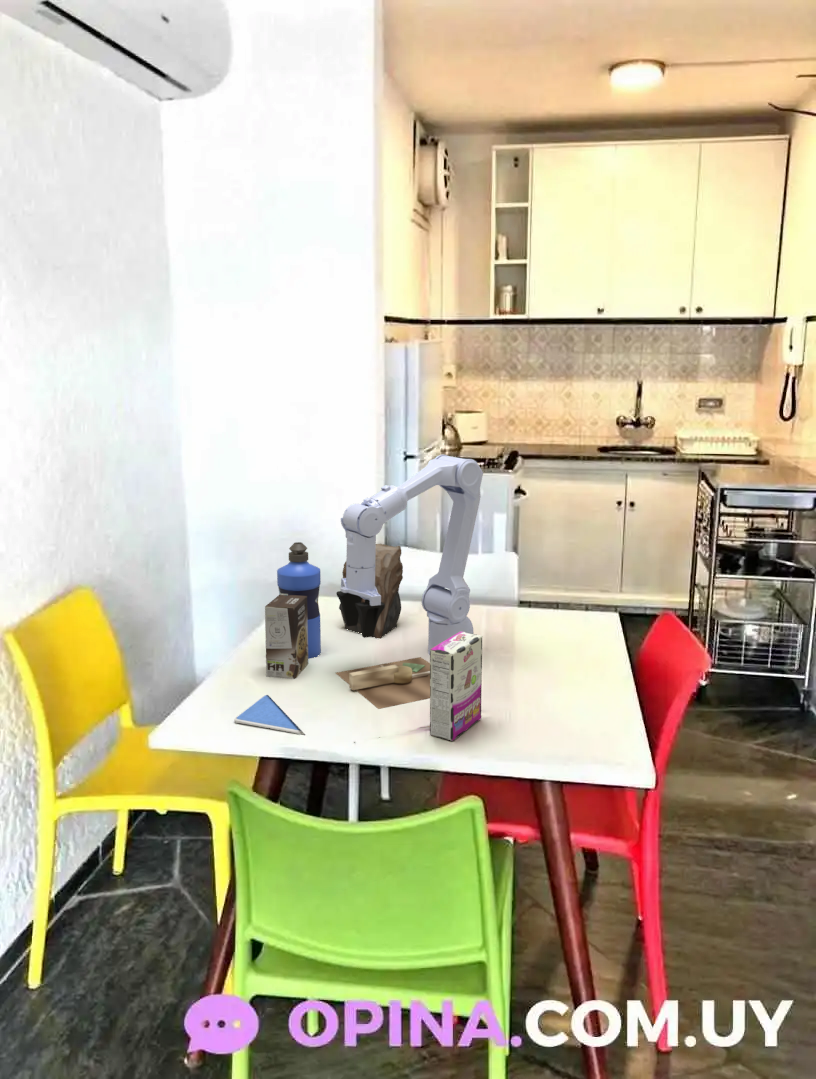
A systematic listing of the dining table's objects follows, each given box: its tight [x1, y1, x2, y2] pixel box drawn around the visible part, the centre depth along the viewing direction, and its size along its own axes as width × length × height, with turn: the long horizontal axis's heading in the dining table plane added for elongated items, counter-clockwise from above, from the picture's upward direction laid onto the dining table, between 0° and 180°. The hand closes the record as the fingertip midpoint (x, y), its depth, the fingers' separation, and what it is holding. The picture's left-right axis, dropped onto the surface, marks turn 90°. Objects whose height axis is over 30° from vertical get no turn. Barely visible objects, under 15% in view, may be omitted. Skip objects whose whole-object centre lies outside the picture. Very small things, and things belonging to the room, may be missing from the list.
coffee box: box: [264, 594, 309, 680], centre depth 180 cm, size 9×6×16 cm
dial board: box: [335, 656, 430, 710], centre depth 176 cm, size 20×20×1 cm
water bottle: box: [276, 541, 322, 660], centre depth 192 cm, size 9×9×25 cm
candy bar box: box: [429, 632, 483, 742], centre depth 157 cm, size 11×5×16 cm, turn 148°
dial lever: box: [348, 665, 430, 691], centre depth 175 cm, size 20×4×3 cm, turn 118°
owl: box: [338, 543, 404, 639], centre depth 210 cm, size 13×13×20 cm
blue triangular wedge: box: [233, 694, 306, 736], centre depth 162 cm, size 19×13×1 cm, turn 71°
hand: (359, 631), depth 176 cm, fingers open, 7 cm apart
